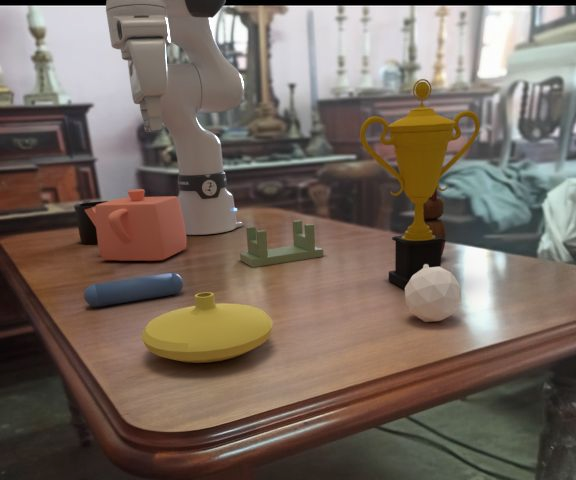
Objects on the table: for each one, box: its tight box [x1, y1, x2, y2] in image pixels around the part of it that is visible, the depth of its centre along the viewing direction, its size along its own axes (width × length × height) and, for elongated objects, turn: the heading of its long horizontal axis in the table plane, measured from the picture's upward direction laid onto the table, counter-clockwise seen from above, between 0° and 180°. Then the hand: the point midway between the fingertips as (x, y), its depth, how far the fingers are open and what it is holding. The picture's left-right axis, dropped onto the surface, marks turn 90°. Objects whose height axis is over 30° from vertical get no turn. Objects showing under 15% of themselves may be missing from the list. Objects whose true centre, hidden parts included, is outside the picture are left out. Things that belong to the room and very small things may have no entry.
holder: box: [239, 219, 324, 268], centre depth 115 cm, size 7×15×6 cm, turn 114°
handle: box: [83, 272, 184, 308], centre depth 94 cm, size 16×4×4 cm, turn 114°
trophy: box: [359, 78, 481, 290], centre depth 89 cm, size 19×10×30 cm, turn 105°
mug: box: [73, 200, 109, 245], centre depth 145 cm, size 9×12×9 cm
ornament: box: [404, 264, 462, 323], centre depth 77 cm, size 7×7×8 cm
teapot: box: [85, 188, 188, 262], centre depth 124 cm, size 20×22×14 cm
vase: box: [141, 291, 274, 364], centre depth 70 cm, size 16×16×7 cm
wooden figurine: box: [423, 188, 447, 257], centre depth 106 cm, size 7×6×15 cm
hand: (153, 131), depth 93 cm, fingers open, 8 cm apart
